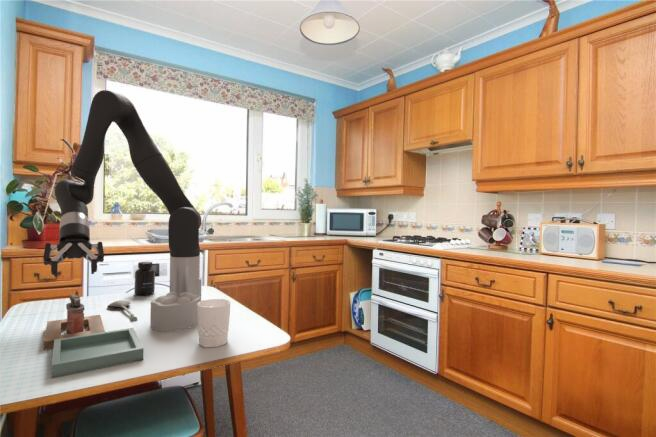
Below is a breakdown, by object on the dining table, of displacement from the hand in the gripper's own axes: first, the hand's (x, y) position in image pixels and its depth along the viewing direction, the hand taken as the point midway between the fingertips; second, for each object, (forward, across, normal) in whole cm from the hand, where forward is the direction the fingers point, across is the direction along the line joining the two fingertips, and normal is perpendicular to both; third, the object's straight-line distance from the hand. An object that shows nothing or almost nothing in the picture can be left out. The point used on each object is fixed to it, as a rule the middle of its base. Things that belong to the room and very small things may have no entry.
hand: (74, 273), depth 101 cm
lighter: (+17, 0, +3) cm, 18 cm away
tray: (+30, +4, -10) cm, 32 cm away
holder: (+17, 0, +3) cm, 17 cm away
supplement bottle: (-10, +22, +30) cm, 38 cm away
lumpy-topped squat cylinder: (+21, +24, -1) cm, 32 cm away
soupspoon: (+7, +13, +14) cm, 20 cm away
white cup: (+34, +28, -14) cm, 47 cm away
